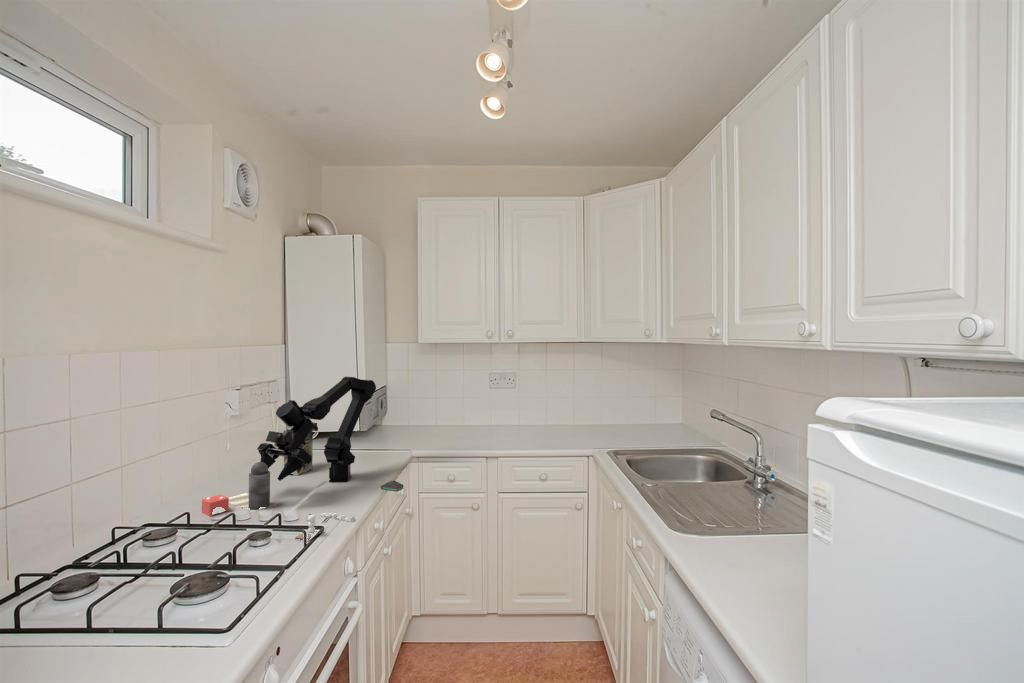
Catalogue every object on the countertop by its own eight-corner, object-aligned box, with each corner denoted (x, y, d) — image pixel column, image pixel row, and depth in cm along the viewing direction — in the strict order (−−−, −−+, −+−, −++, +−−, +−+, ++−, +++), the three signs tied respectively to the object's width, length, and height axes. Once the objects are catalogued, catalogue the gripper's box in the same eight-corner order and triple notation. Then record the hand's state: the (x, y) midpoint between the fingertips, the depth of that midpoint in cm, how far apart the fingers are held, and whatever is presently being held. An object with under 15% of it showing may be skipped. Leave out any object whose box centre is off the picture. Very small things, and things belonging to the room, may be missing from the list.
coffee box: (298, 476, 173) (298, 433, 173) (283, 474, 174) (283, 432, 174) (313, 469, 182) (313, 428, 181) (298, 468, 183) (299, 427, 183)
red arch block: (201, 516, 134) (201, 497, 133) (220, 511, 138) (220, 492, 138) (209, 520, 131) (209, 501, 131) (228, 515, 135) (228, 496, 135)
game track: (213, 504, 143) (213, 500, 143) (250, 494, 152) (250, 490, 152) (246, 519, 132) (246, 515, 132) (283, 507, 141) (284, 503, 141)
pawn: (270, 502, 142) (270, 459, 142) (269, 508, 137) (269, 463, 137) (249, 504, 140) (249, 460, 140) (247, 510, 135) (248, 465, 135)
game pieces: (314, 545, 117) (314, 522, 117) (275, 537, 122) (275, 515, 122) (411, 490, 160) (411, 473, 160) (379, 485, 164) (379, 469, 164)
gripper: (262, 418, 150) (229, 460, 140) (304, 423, 142) (273, 468, 132) (283, 437, 157) (253, 478, 147) (324, 443, 149) (296, 487, 140)
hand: (268, 477), depth 141 cm, fingers open, 9 cm apart
